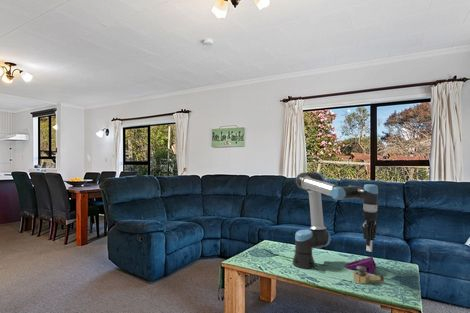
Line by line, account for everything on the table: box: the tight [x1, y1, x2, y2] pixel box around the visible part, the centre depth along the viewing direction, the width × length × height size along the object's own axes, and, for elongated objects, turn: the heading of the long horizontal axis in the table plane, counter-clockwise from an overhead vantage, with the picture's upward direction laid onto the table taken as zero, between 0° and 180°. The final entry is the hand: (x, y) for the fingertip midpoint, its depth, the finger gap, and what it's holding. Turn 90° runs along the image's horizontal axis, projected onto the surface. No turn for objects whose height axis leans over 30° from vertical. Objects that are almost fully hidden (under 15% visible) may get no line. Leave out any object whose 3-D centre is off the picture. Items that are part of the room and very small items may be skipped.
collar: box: [353, 270, 385, 284], centre depth 168 cm, size 16×8×5 cm, turn 77°
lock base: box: [356, 266, 384, 285], centre depth 169 cm, size 28×14×9 cm, turn 76°
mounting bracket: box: [344, 256, 377, 275], centre depth 186 cm, size 10×8×18 cm
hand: (369, 250), depth 164 cm, fingers closed
